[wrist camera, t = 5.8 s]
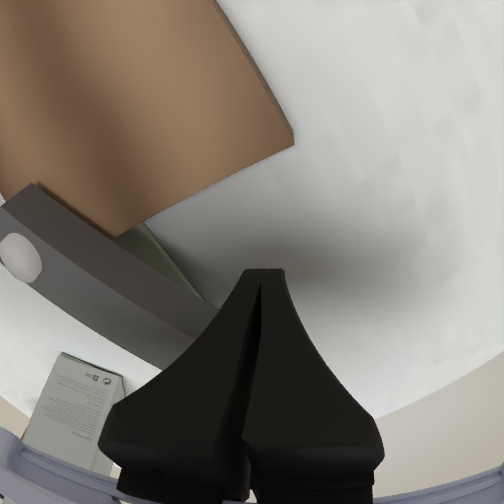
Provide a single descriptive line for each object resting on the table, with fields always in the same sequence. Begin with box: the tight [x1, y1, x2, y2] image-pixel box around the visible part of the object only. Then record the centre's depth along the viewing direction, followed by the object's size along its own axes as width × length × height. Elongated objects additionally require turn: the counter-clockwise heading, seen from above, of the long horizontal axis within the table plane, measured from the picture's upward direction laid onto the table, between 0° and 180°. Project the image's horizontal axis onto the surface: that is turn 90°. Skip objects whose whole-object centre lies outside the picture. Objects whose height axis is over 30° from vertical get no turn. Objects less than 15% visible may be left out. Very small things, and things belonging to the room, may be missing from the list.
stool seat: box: [0, 0, 294, 300], centre depth 12 cm, size 12×22×2 cm, turn 29°
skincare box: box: [2, 353, 125, 504], centre depth 18 cm, size 8×6×15 cm
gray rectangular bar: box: [0, 183, 219, 370], centre depth 12 cm, size 12×3×2 cm, turn 52°
